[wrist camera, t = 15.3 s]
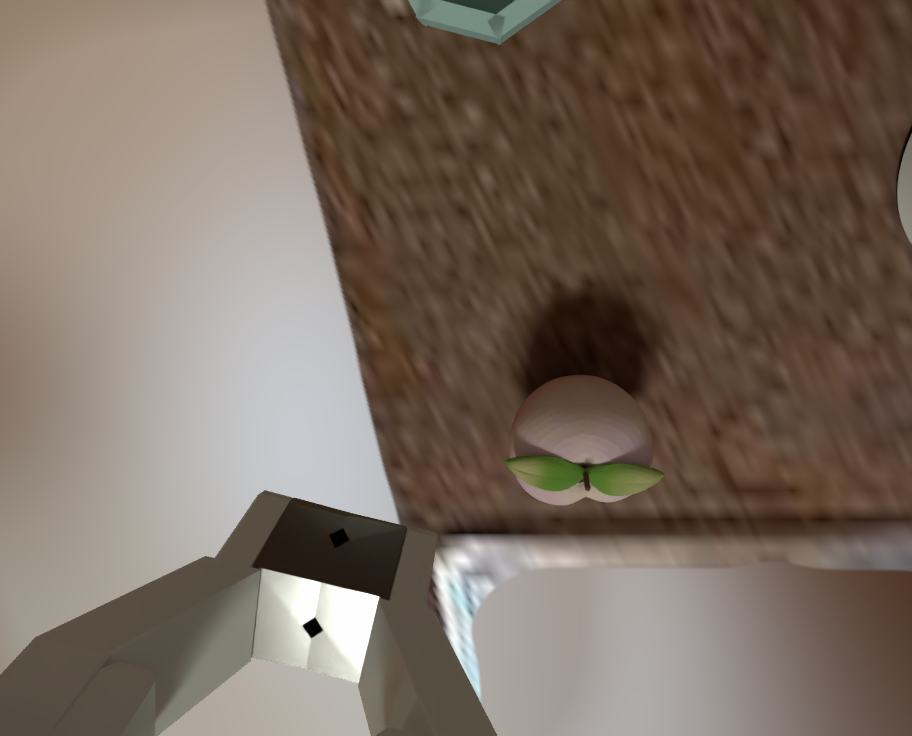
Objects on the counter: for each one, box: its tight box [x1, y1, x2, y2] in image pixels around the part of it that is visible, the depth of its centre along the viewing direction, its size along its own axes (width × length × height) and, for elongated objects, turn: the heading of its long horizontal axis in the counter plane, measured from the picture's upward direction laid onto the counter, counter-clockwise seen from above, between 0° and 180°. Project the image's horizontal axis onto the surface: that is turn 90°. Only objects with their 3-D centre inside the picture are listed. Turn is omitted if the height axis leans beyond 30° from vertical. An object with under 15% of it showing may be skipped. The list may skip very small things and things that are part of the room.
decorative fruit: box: [504, 375, 664, 505], centre depth 36 cm, size 9×8×10 cm
